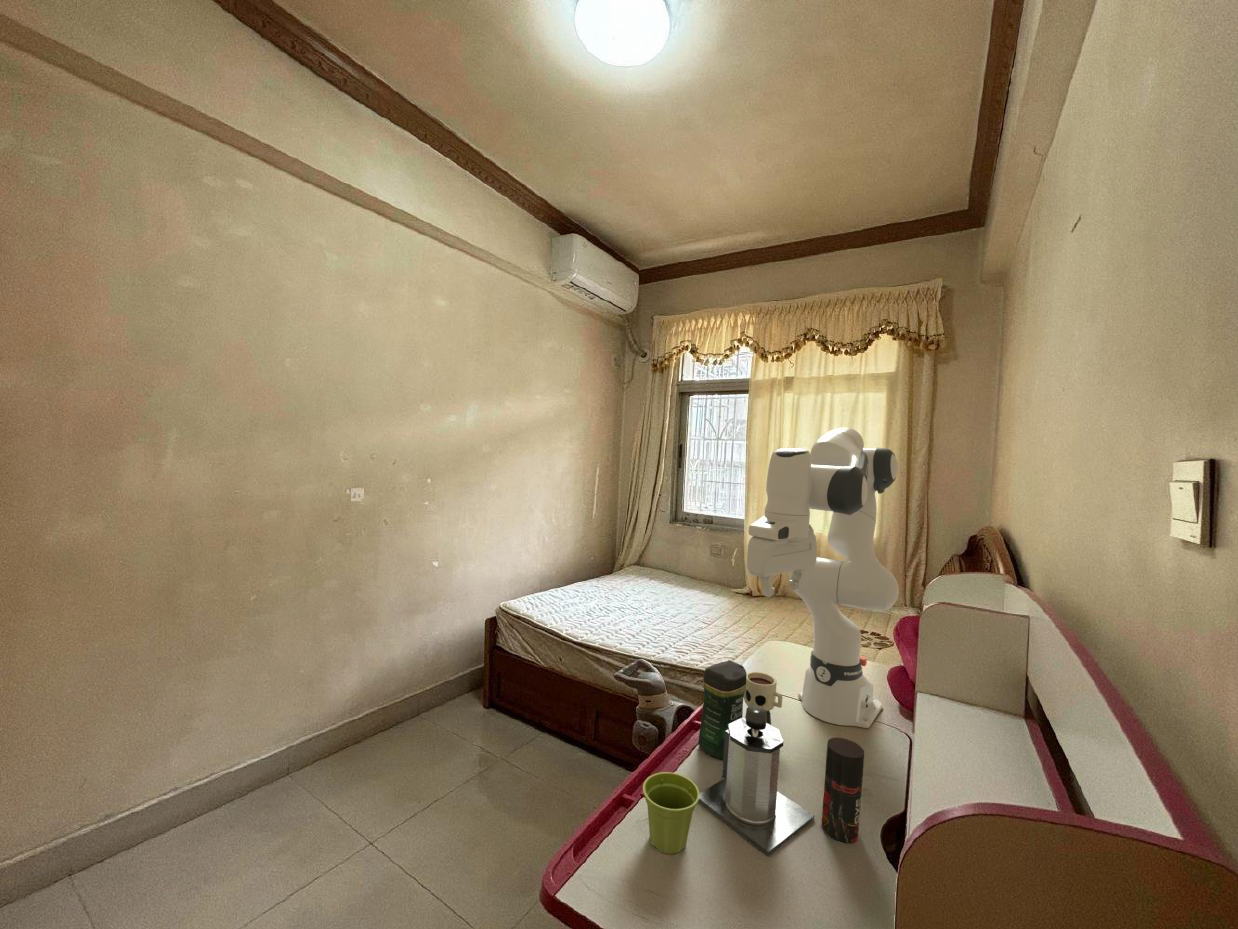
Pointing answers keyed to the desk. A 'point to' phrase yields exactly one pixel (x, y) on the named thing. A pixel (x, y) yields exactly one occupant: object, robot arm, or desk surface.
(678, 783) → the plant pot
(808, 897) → the desk surface
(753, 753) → the silver octagonal canister
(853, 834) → the deodorant
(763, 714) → the domed grey knob
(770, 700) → the character mug
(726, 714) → the coffee jar
